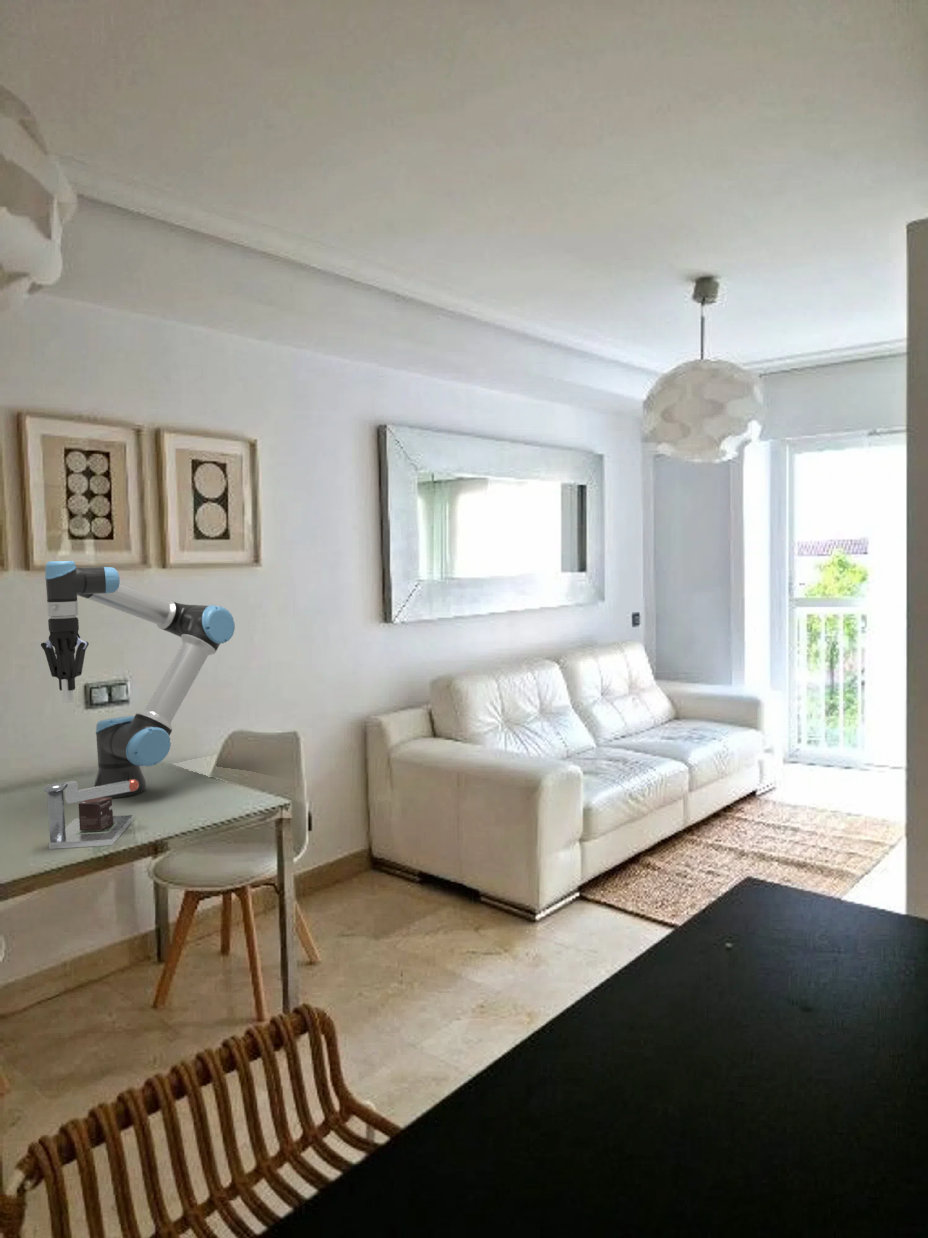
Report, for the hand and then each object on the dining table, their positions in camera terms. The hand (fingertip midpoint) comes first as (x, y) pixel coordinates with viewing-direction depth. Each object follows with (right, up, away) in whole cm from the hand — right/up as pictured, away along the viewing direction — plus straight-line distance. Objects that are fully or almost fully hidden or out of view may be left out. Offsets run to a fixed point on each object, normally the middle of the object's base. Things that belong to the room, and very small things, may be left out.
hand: (68, 702), depth 233 cm
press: (+13, -33, -13) cm, 38 cm away
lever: (+14, -23, -17) cm, 32 cm away
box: (+14, -32, -13) cm, 37 cm away
